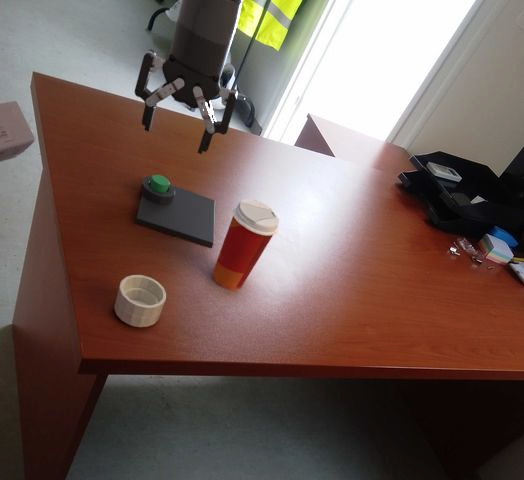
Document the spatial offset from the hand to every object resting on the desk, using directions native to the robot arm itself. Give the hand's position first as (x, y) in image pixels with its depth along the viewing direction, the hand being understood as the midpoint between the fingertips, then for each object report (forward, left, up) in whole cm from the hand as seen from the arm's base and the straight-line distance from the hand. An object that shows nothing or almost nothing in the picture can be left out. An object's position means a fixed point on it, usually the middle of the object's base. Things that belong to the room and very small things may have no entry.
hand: (174, 140), depth 72 cm
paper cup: (+14, -11, -15) cm, 24 cm away
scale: (+4, +4, -15) cm, 16 cm away
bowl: (0, -25, -15) cm, 29 cm away
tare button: (0, +6, -12) cm, 14 cm away
